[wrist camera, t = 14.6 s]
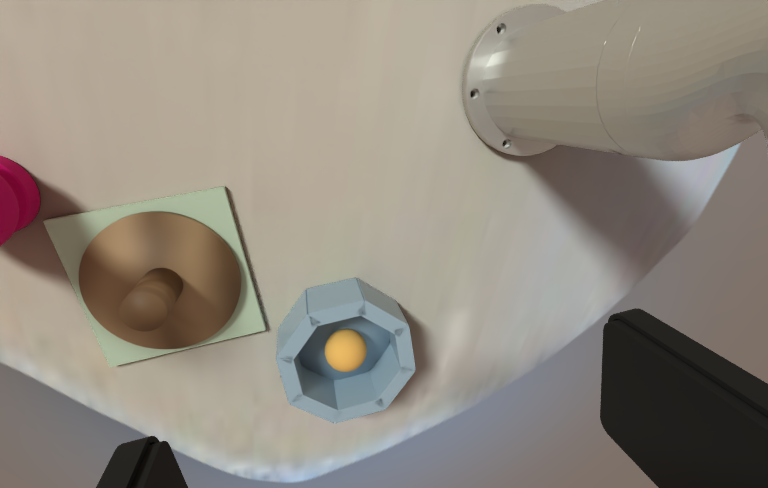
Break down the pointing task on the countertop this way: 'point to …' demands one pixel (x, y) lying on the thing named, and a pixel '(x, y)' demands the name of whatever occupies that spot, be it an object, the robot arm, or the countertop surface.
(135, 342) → the lid
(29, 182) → the pepper mill
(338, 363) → the clementine
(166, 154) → the countertop surface
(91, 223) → the mat
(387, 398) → the bowl
